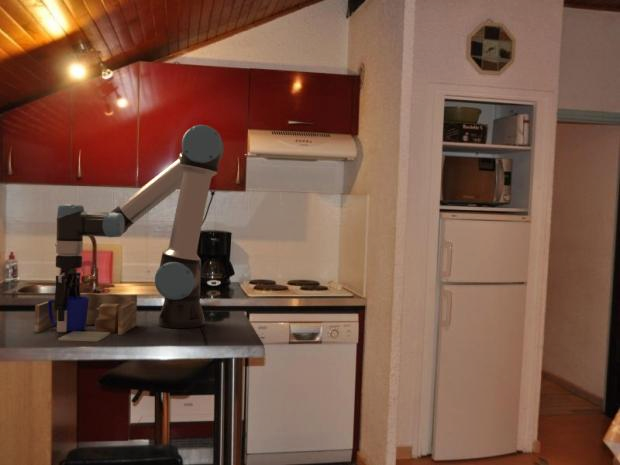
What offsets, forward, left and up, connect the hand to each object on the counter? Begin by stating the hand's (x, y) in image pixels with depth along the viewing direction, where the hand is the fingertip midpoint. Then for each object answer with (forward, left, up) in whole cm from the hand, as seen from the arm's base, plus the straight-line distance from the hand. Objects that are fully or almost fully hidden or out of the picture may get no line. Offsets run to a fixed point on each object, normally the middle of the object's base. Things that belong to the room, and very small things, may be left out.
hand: (67, 329), depth 180 cm
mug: (0, 0, 0) cm, 0 cm away
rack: (-5, -3, 0) cm, 6 cm away
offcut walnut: (-12, -2, 0) cm, 12 cm away
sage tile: (-9, +10, 0) cm, 14 cm away
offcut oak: (-12, -2, +4) cm, 13 cm away
